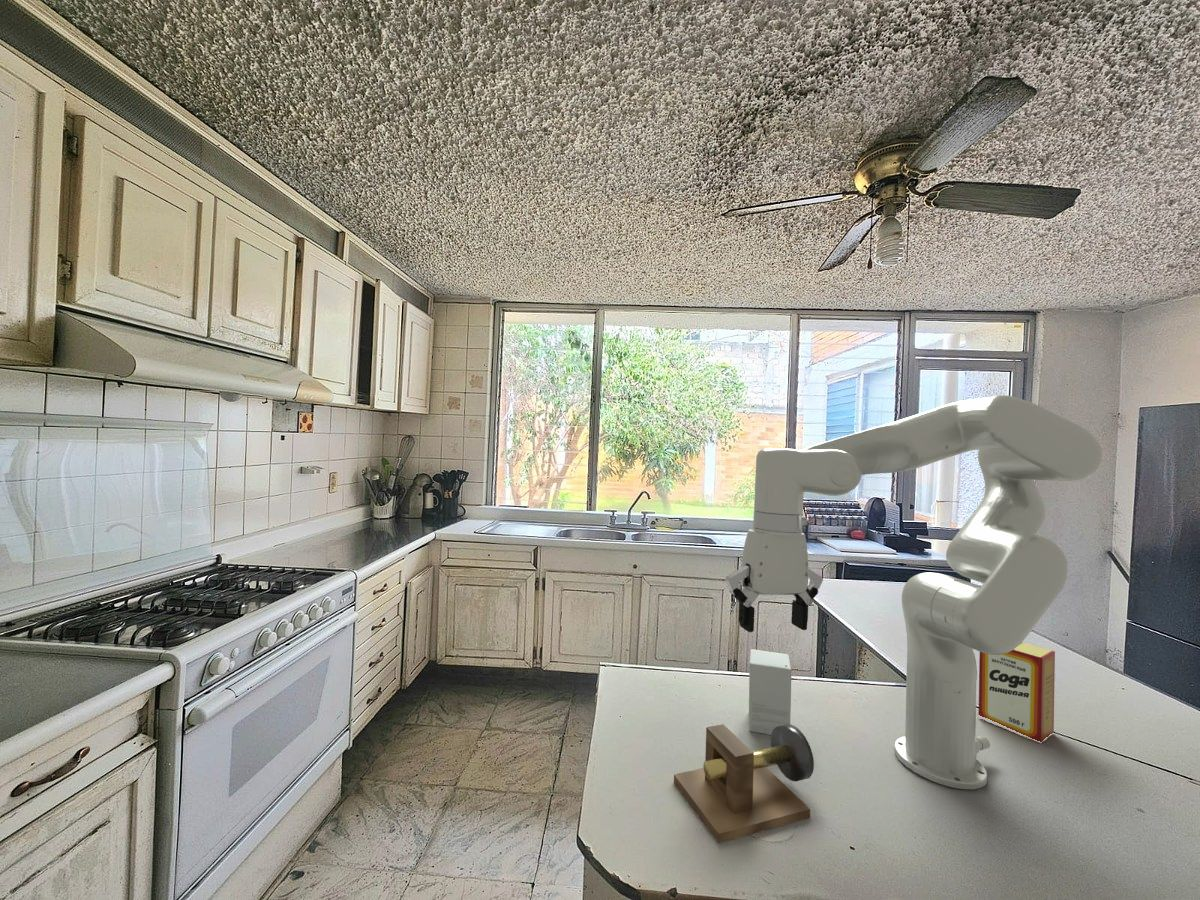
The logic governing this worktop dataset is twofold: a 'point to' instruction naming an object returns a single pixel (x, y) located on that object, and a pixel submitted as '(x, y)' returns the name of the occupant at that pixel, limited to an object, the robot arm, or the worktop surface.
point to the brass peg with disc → (776, 756)
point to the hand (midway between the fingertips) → (773, 628)
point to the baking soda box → (1019, 690)
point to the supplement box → (769, 691)
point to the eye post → (738, 791)
